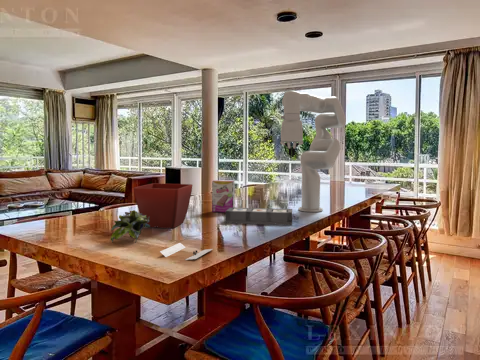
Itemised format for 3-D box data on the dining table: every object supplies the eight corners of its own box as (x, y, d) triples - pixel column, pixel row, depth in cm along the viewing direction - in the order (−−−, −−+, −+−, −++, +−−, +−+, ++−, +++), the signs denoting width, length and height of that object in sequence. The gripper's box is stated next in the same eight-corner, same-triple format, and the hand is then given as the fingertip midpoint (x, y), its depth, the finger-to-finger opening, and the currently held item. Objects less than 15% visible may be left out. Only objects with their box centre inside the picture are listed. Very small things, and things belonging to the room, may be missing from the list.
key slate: (234, 214, 168) (234, 208, 167) (247, 215, 167) (247, 208, 166) (232, 217, 162) (232, 210, 161) (245, 217, 161) (245, 210, 161)
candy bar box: (211, 212, 186) (211, 180, 185) (213, 210, 191) (213, 179, 190) (233, 212, 185) (233, 180, 184) (234, 211, 190) (234, 180, 188)
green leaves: (132, 253, 132) (150, 221, 137) (142, 255, 122) (161, 220, 127) (100, 237, 127) (120, 204, 132) (109, 238, 117) (130, 202, 122)
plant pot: (177, 230, 143) (177, 188, 141) (133, 228, 147) (132, 187, 145) (193, 221, 162) (193, 184, 160) (153, 220, 165) (153, 183, 164)
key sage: (273, 216, 165) (273, 209, 165) (286, 216, 164) (286, 209, 164) (272, 218, 159) (272, 211, 159) (286, 219, 158) (286, 211, 158)
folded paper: (195, 262, 104) (195, 256, 103) (159, 258, 108) (159, 251, 108) (213, 252, 115) (213, 246, 115) (180, 248, 119) (180, 242, 119)
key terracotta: (253, 215, 166) (253, 208, 166) (266, 215, 165) (266, 209, 165) (252, 217, 160) (252, 210, 160) (265, 218, 159) (265, 211, 159)
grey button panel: (230, 217, 172) (230, 206, 172) (292, 219, 168) (292, 208, 167) (224, 223, 158) (224, 211, 158) (291, 225, 154) (292, 213, 154)
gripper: (275, 117, 168) (275, 157, 170) (308, 117, 166) (307, 157, 168) (276, 118, 176) (276, 156, 177) (307, 118, 173) (307, 156, 175)
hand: (291, 156), depth 172 cm, fingers closed
